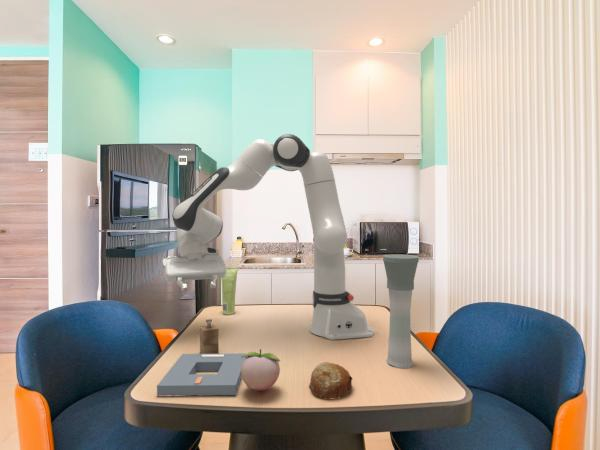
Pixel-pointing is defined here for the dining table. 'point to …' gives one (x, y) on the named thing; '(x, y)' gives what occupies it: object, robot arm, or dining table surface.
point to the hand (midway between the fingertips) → (199, 288)
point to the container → (400, 307)
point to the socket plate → (203, 375)
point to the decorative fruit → (260, 370)
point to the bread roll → (330, 381)
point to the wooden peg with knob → (209, 339)
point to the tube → (229, 290)
